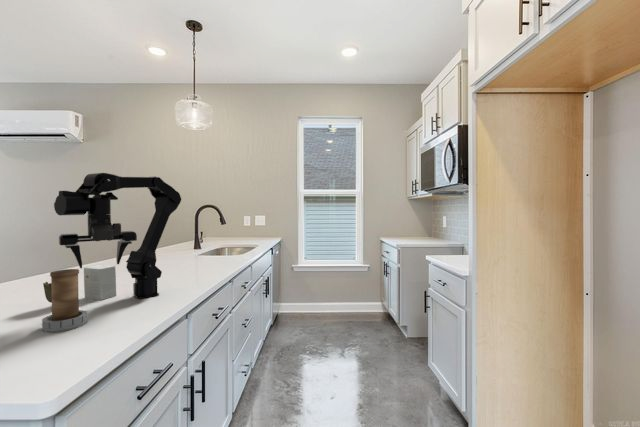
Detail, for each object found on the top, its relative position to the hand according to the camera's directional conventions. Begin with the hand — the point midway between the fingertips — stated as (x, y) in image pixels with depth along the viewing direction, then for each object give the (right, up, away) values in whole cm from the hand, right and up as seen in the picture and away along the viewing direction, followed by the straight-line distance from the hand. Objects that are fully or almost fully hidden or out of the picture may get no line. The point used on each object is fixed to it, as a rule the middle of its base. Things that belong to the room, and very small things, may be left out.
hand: (100, 266), depth 94 cm
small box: (-9, -13, +13) cm, 20 cm away
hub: (0, -13, -13) cm, 19 cm away
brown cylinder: (0, -12, -13) cm, 18 cm away
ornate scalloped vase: (-14, -13, +2) cm, 19 cm away
